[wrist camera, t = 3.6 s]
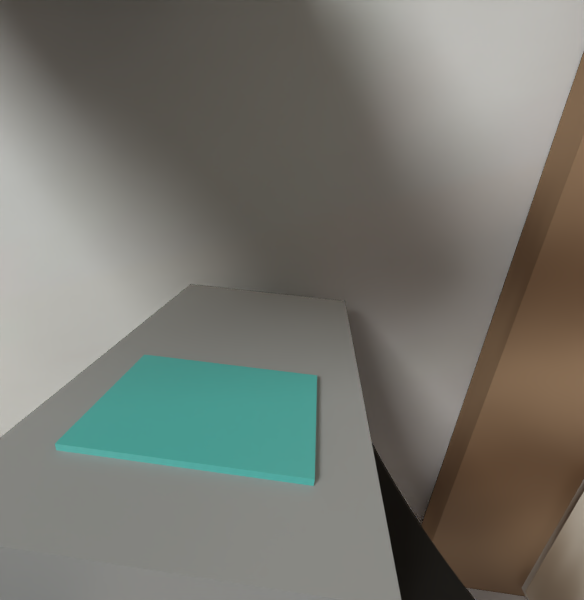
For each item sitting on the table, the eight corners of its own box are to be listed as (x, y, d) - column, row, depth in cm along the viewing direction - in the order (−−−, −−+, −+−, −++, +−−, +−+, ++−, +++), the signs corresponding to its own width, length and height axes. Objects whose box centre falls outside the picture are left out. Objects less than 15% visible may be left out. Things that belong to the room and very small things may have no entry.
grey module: (317, 479, 12) (312, 863, 5) (196, 462, 12) (43, 810, 5) (345, 297, 9) (406, 602, 3) (190, 280, 9) (-117, 520, 3)
